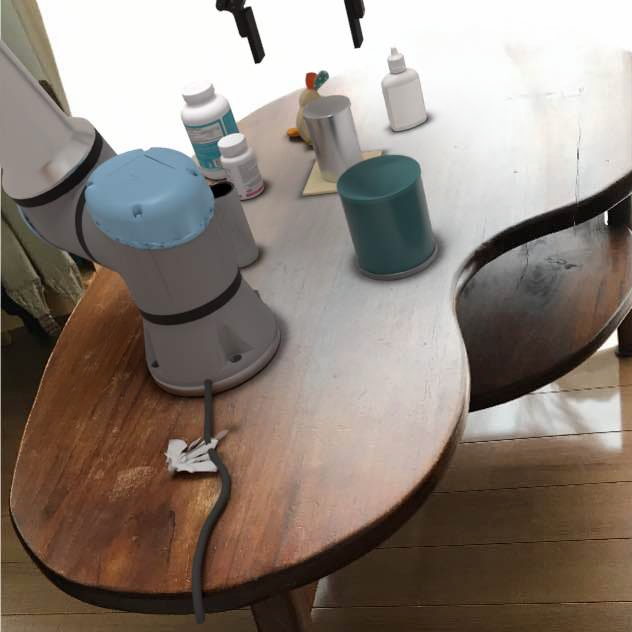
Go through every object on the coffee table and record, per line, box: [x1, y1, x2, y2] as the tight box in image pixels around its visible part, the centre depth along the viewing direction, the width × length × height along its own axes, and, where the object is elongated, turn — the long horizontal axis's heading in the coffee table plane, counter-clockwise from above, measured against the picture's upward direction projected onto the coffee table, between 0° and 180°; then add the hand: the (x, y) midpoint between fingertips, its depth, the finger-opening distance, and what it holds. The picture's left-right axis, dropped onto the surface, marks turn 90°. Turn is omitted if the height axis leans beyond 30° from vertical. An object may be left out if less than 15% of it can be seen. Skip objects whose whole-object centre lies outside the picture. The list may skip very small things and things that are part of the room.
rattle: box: [285, 69, 330, 146], centre depth 133 cm, size 8×8×12 cm
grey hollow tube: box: [208, 180, 260, 269], centre depth 111 cm, size 4×4×10 cm
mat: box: [302, 149, 383, 197], centre depth 125 cm, size 10×10×1 cm
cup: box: [302, 94, 364, 183], centre depth 122 cm, size 7×7×10 cm
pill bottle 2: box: [218, 132, 265, 201], centre depth 125 cm, size 5×5×8 cm
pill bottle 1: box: [180, 79, 240, 180], centre depth 131 cm, size 8×7×14 cm
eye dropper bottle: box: [380, 45, 428, 132], centre depth 129 cm, size 4×6×12 cm
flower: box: [164, 429, 229, 475], centre depth 87 cm, size 8×8×3 cm
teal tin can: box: [337, 154, 439, 281], centre depth 103 cm, size 10×10×11 cm
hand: (309, 52), depth 114 cm, fingers open, 13 cm apart
